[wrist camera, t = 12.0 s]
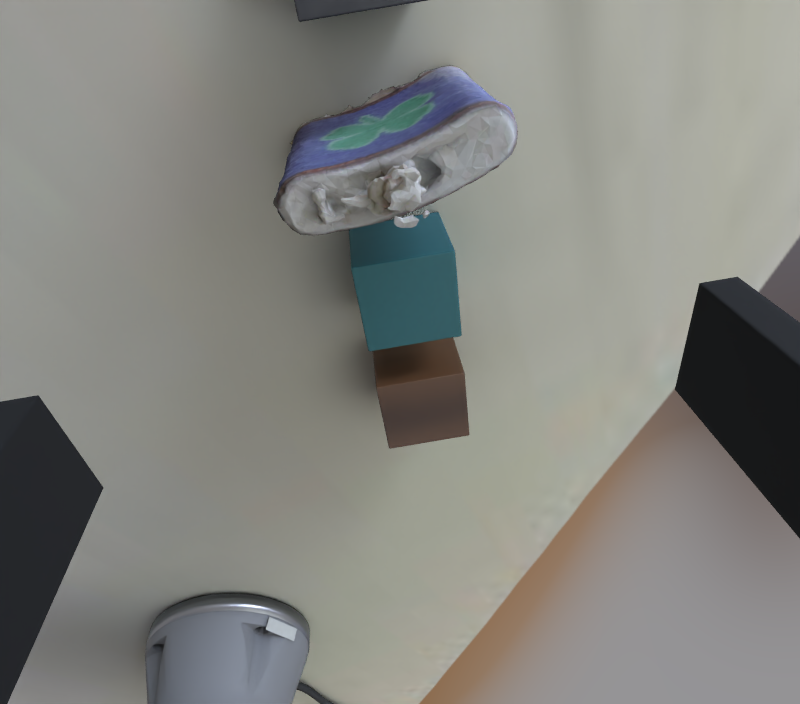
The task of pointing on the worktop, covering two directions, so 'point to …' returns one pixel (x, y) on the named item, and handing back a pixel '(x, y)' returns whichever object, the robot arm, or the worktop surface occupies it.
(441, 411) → the block
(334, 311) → the worktop surface
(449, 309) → the block
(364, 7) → the block
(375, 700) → the worktop surface
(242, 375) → the worktop surface
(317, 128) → the flask
